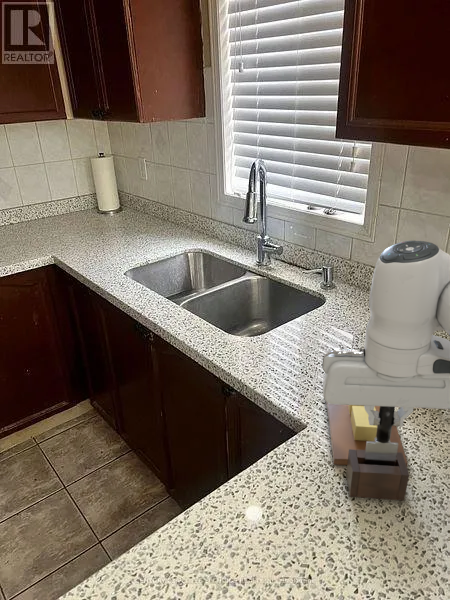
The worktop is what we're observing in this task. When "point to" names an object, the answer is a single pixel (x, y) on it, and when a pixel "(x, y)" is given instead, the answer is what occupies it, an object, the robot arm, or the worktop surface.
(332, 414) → the board
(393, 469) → the knife block
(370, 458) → the knife
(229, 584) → the worktop surface
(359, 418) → the butter block
